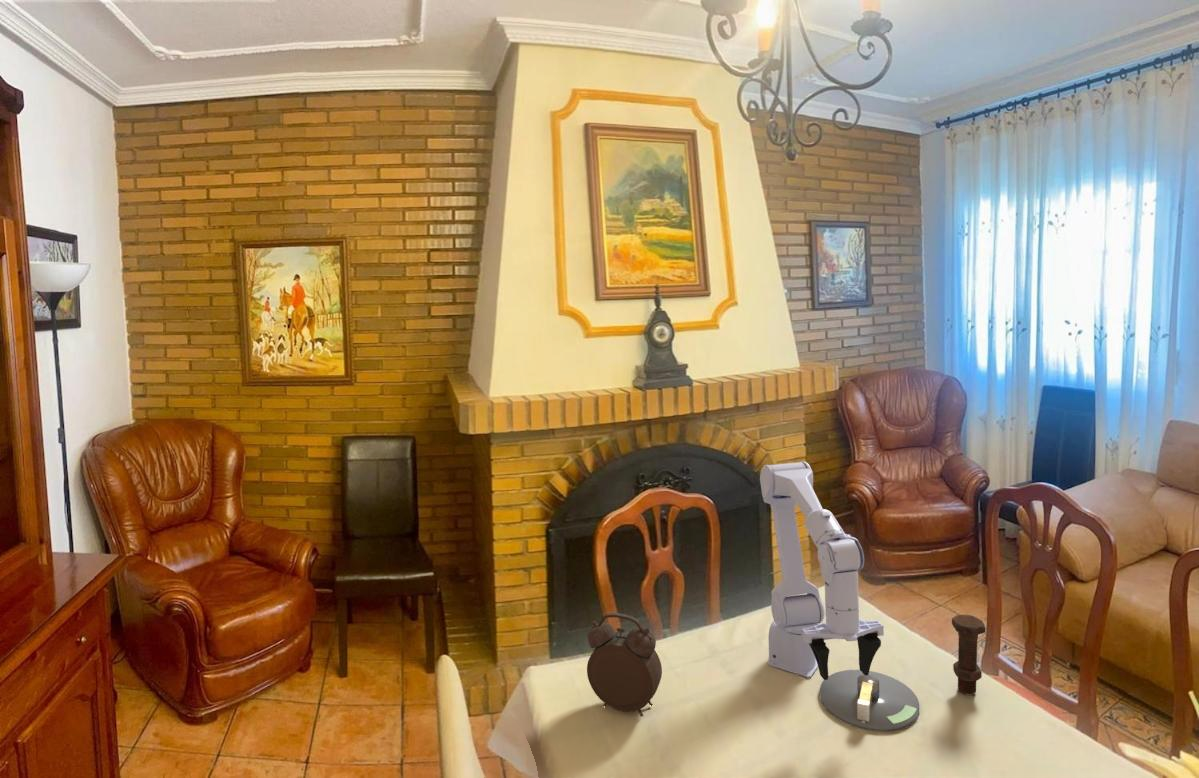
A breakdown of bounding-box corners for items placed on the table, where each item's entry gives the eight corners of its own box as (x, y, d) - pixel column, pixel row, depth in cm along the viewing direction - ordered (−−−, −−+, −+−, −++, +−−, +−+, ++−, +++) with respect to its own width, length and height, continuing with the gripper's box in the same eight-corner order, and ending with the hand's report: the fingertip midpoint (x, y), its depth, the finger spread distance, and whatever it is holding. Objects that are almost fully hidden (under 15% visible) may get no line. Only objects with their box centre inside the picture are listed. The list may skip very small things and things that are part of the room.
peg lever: (858, 686, 131) (858, 671, 131) (880, 691, 129) (880, 675, 129) (851, 718, 122) (851, 701, 121) (874, 724, 120) (874, 707, 120)
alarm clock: (667, 703, 132) (662, 610, 129) (654, 726, 125) (649, 628, 122) (601, 689, 138) (595, 600, 135) (586, 710, 132) (579, 616, 129)
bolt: (986, 701, 126) (988, 629, 124) (957, 699, 127) (959, 627, 125) (975, 683, 132) (977, 613, 130) (948, 682, 133) (949, 612, 131)
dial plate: (806, 709, 127) (806, 704, 127) (837, 664, 141) (837, 659, 141) (906, 744, 116) (906, 738, 116) (928, 692, 130) (929, 686, 130)
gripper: (811, 618, 115) (814, 691, 116) (891, 609, 116) (893, 682, 117) (796, 601, 122) (799, 670, 123) (872, 593, 123) (873, 661, 124)
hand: (844, 674), depth 121 cm, fingers open, 7 cm apart
